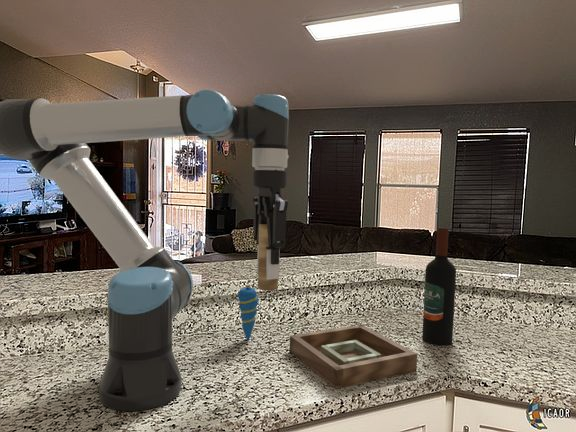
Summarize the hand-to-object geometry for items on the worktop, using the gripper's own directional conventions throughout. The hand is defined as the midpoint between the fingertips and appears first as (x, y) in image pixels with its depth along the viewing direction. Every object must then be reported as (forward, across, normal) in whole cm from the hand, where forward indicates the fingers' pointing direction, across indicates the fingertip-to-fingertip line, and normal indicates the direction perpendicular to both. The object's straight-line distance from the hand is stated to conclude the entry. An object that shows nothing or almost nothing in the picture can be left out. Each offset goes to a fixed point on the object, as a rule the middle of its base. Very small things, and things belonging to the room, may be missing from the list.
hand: (267, 276), depth 98 cm
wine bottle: (+21, -3, -48) cm, 52 cm away
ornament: (+21, +17, -2) cm, 27 cm away
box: (+20, -5, -19) cm, 28 cm away
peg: (+3, 0, 0) cm, 3 cm away
